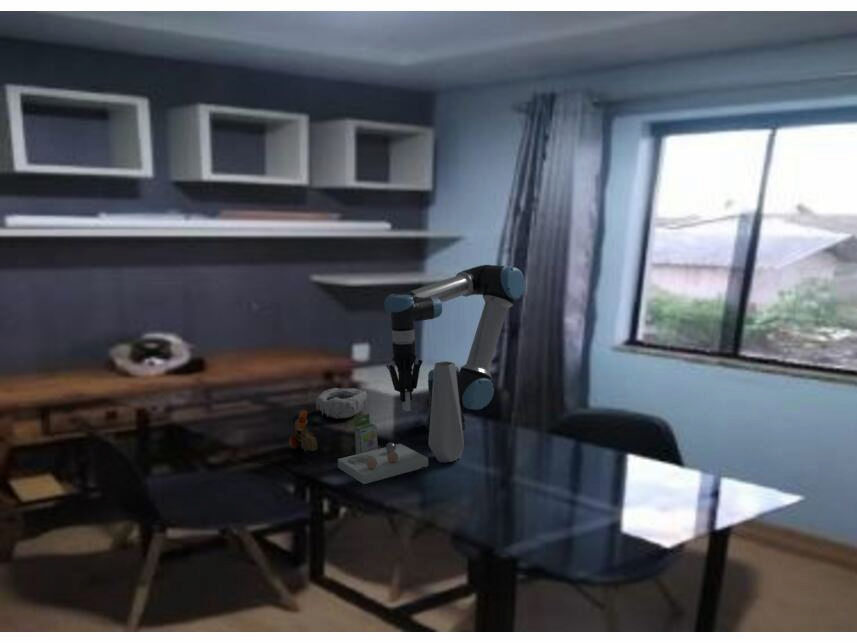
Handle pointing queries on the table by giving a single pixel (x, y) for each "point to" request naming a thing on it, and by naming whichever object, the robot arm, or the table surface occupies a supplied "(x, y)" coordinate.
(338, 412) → the bowl
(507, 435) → the table surface
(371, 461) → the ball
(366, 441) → the ink box
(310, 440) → the toy helicopter
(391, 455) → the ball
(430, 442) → the vase
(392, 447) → the steel ball
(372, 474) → the white tray
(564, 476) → the table surface
